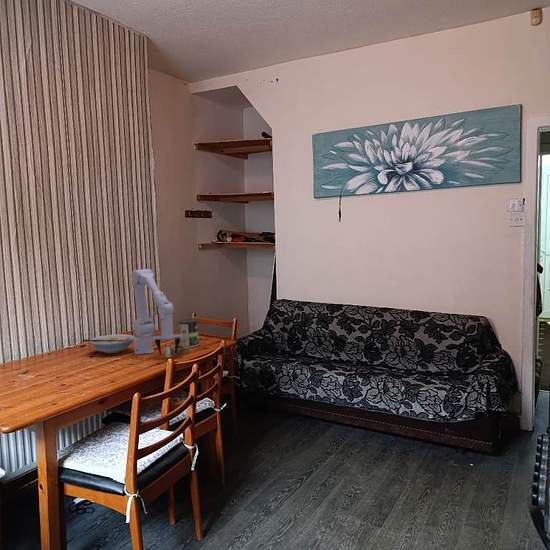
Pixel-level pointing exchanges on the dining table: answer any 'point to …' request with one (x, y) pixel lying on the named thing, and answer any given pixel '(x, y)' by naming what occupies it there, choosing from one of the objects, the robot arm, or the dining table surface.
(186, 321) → the coffee can
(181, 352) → the square wooden frame
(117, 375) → the dining table surface
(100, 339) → the ramen bowl
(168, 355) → the white banded cylinder
